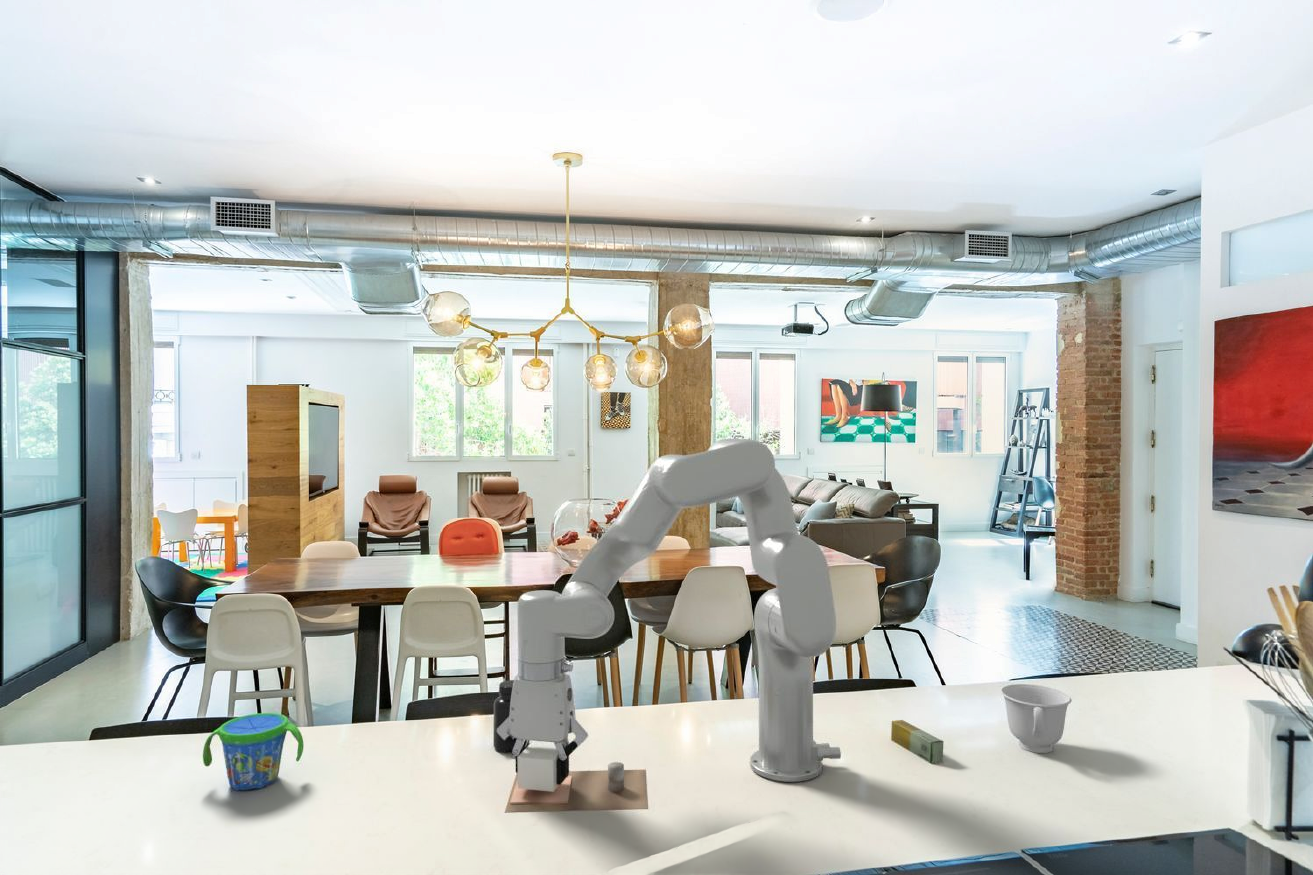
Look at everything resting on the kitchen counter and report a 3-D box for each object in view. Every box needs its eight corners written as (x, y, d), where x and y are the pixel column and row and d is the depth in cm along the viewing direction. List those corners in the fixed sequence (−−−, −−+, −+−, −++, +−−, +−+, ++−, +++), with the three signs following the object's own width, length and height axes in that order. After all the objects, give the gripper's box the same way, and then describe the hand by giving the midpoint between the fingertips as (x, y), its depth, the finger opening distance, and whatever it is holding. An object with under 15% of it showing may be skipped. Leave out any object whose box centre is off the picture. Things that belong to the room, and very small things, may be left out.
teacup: (1002, 760, 142) (1001, 705, 142) (999, 731, 155) (999, 680, 155) (1077, 771, 137) (1077, 714, 137) (1068, 739, 151) (1067, 688, 151)
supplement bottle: (522, 755, 145) (521, 690, 145) (487, 752, 147) (487, 688, 146) (535, 740, 152) (534, 678, 152) (502, 738, 153) (501, 676, 153)
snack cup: (313, 767, 140) (312, 711, 140) (287, 795, 130) (287, 733, 130) (223, 770, 139) (222, 712, 139) (190, 797, 129) (190, 735, 129)
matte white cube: (566, 775, 130) (565, 745, 130) (553, 791, 124) (553, 760, 124) (531, 772, 131) (531, 742, 131) (517, 788, 125) (517, 756, 125)
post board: (645, 778, 135) (645, 747, 135) (648, 818, 121) (647, 784, 121) (517, 781, 134) (516, 750, 134) (504, 821, 120) (504, 787, 120)
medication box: (944, 763, 141) (944, 741, 141) (932, 765, 140) (932, 742, 140) (901, 738, 152) (901, 718, 152) (889, 740, 152) (890, 719, 152)
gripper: (599, 664, 129) (599, 773, 129) (501, 658, 133) (502, 764, 133) (585, 679, 122) (585, 794, 122) (482, 672, 126) (483, 784, 126)
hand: (542, 777), depth 128 cm, fingers closed on matte white cube, 5 cm apart
